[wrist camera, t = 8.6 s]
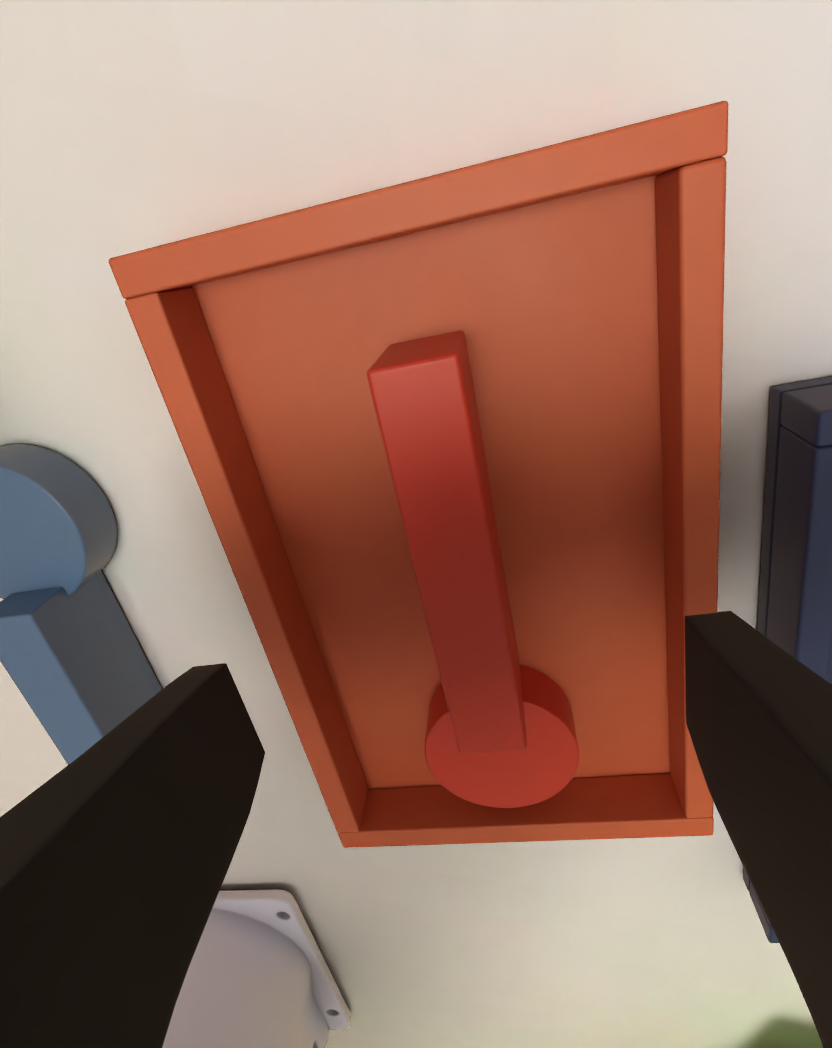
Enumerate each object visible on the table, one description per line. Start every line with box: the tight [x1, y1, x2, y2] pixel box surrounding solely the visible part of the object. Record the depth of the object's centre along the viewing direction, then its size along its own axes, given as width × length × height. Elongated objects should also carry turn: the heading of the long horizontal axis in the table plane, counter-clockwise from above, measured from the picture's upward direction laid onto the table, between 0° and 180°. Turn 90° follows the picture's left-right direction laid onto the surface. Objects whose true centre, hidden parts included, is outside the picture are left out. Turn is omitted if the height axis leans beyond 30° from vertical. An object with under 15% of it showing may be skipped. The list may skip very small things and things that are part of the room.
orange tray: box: [109, 101, 728, 848], centre depth 14 cm, size 16×10×2 cm, turn 12°
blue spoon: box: [0, 444, 162, 765], centre depth 16 cm, size 12×4×3 cm, turn 12°
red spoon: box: [367, 331, 579, 808], centre depth 13 cm, size 12×4×3 cm, turn 12°
